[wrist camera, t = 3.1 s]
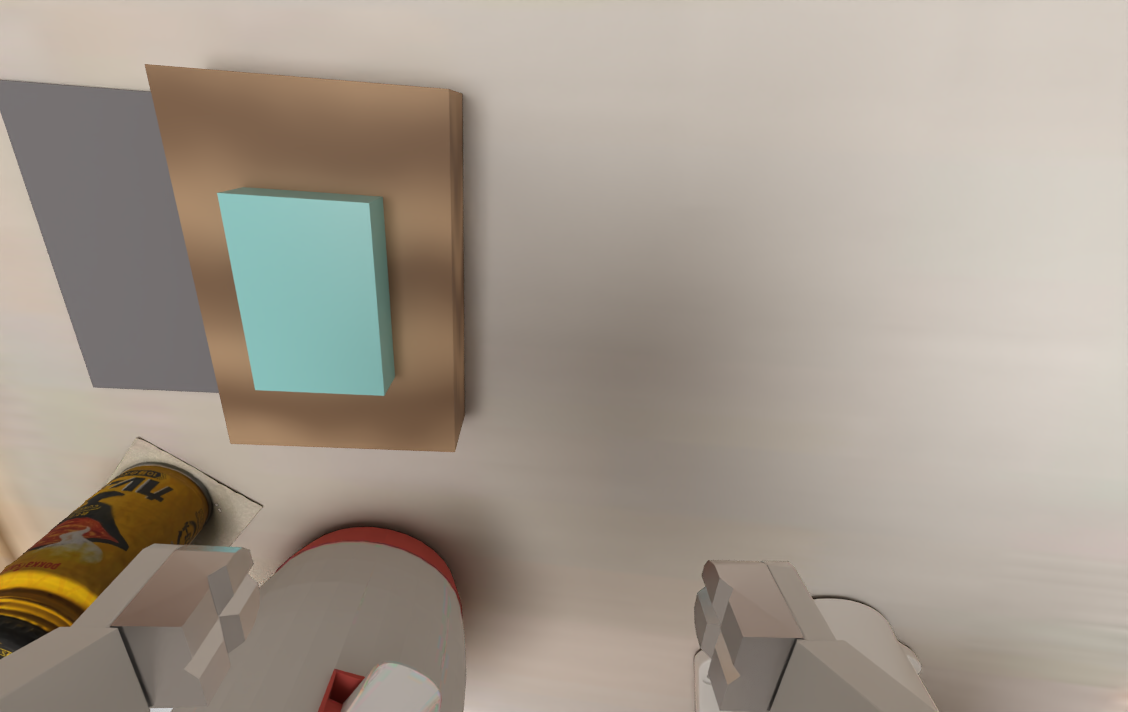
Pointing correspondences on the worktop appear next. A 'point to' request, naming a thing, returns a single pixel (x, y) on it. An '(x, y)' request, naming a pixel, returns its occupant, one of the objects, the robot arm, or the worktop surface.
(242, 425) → the board
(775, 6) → the worktop surface
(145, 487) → the condiment
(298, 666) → the citrus juicer
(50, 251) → the mat
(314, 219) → the block
